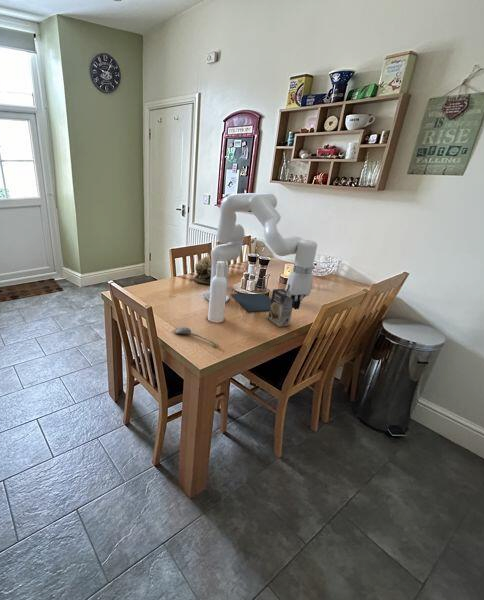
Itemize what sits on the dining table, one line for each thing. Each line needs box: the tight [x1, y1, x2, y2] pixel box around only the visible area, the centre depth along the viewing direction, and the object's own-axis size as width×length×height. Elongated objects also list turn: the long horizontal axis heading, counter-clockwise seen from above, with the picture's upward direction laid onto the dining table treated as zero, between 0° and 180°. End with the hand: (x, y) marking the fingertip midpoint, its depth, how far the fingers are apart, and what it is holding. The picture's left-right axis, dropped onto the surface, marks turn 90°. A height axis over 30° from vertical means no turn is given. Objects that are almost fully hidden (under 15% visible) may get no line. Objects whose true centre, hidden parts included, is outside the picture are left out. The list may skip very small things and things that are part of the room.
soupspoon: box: [174, 326, 219, 347], centre depth 146 cm, size 22×3×7 cm
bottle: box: [207, 261, 228, 324], centre depth 159 cm, size 8×8×30 cm
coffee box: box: [267, 288, 294, 327], centre depth 160 cm, size 9×6×16 cm
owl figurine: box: [193, 255, 212, 286], centre depth 212 cm, size 18×12×17 cm, turn 43°
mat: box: [230, 292, 272, 313], centre depth 185 cm, size 20×24×1 cm
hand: (295, 308), depth 148 cm, fingers closed
